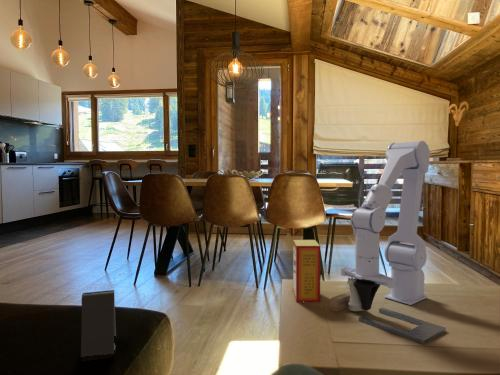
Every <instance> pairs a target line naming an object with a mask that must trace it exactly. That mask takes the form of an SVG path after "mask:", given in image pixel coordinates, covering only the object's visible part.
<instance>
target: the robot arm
mask: <svg viewBox="0 0 500 375" xmlns="http://www.w3.org/2000/svg"><path fill="white" fill-rule="evenodd" d="M387 146H388V147H387V148H386V150H385V159H386V160H385V161H386V163H385V165H384V168H383V171H382V173H381V176H380V178H379V181H378V183H376V184H373V185H372V186H371V187H370V189H369V191H368V193H367V194H366V197H365V199H364V200H363V202H362V204H361V206H360V207H358V208H357V209H355V210H354V211H353V212H352V214H351V219H350V226H351V228H352V232H353V233H352V235H353V236H354V237H355V249H354V250H355V256H354V257H355V258H354V260H355V261H354V262H355V265H354V266H355V268H354V267H347V266H345V267H341V269H340V276H343V277H346V276H347V277H349V278H351V277H353V279H354V278H357V280H356V281H355V282H354V286H355V288H356V290H357V292H358V294H359V297H360V300H361V304H362V308H363V311H366V312H367V311H369V310H371V308H372V305H373V301H374V299H375V296H376V295H377V294H376V293H377V291H378V290H379V288H380V287H381V286H383V287H387V288H388V289H390V293H388V294H386V295H384V298H385V299H389V300H392V301H395V302H400V303H403V304H405V305H410V306H411V305H412V306H413V305H414V304H417V303H418V302H421V301H423V300H426V299H428V296H427V295H425V273H424V270H423V269H422V268H424V266H425V265H426V263H427V243H426V241H425V240H424V239H423V238H421V236H420V235H419V234H418V225H419V217H420V216H419V215H420V207H421V200H422V191H423V184H424V183H423V182H424V176H425V174H427V173H428V172H429V167H430V157H431V151H430V149H429V145H428V144H427V143H426V141H424V140H419V141H408V142H405V141H404V142H391V143H389V145H387ZM401 175H402V177H403V180H402V189H401V197H400V205H399V214H398V215H399V216H398V222H397V230H396V231H395V232H394V233H393V234H391V235H389V236H388V239H387V243H386V245H385V248H384V252H383V254H384V258H385V260H386V262H387V263H388V266H389V267H391V268H390V270H391V271H390V276H388V275H385V274H382V273H380V232H382V231H383V228H384V227H385V223H386V217H387V213H386V211H387V209H388V207H389V205H390V203H391V200H392V198H393V197H394V193H393V191H392V188H393V187H394V185H395V183H396V182H397V180H398V179H399V177H400V176H401ZM408 243H409V244H408Z"/></svg>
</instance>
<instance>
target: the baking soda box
mask: <svg viewBox="0 0 500 375" xmlns="http://www.w3.org/2000/svg"><path fill="white" fill-rule="evenodd" d="M292 292H294V293H293V296H294V295H295V296H294V298H296V299H295V302H296V303H321V245H320V243H318V241H317V240H315V239H292ZM303 301H304V302H303Z"/></svg>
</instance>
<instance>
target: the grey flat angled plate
mask: <svg viewBox="0 0 500 375" xmlns="http://www.w3.org/2000/svg"><path fill="white" fill-rule="evenodd" d="M378 313H381V314H384V315H387V316H389V317H394V318H397V319H399V320H402V321H404V322H405V321H406V322H409V323H412V324H415V325H417V326H416V327H414V328H412V329H409V331H407V330H403V329H400V328H398V327H395V326H392V325H390V324H387V323H384V322H381V321H379V320H376V319H373V318H369V317H367V316H364V315H360V316H359V317H358V321H359V322H362V323H365V324H367V325H370V326H373V327H375V328H378V329H381V330H384V331H386V332H389V333H393V334H395V335H398V336H401V337H402V338H406V339H408V340H411V341H415V342H416V343H420V344H422V345H426V344H427V343H429V342H430V341H432V340H435V339H436V338H437V337H439V336H440V335H443V334H444V333H446V332H447V327H446V326H445V327H444V326H443V325H442V326H441V325H438V324H435V323H432V322H429V321H425V320H423V319H420V318H416V317H413V316H410V315H407V314H404V313H400V312H398V311H393V310H390V309H387V308H385V307H380V308H379V309H378Z"/></svg>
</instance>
